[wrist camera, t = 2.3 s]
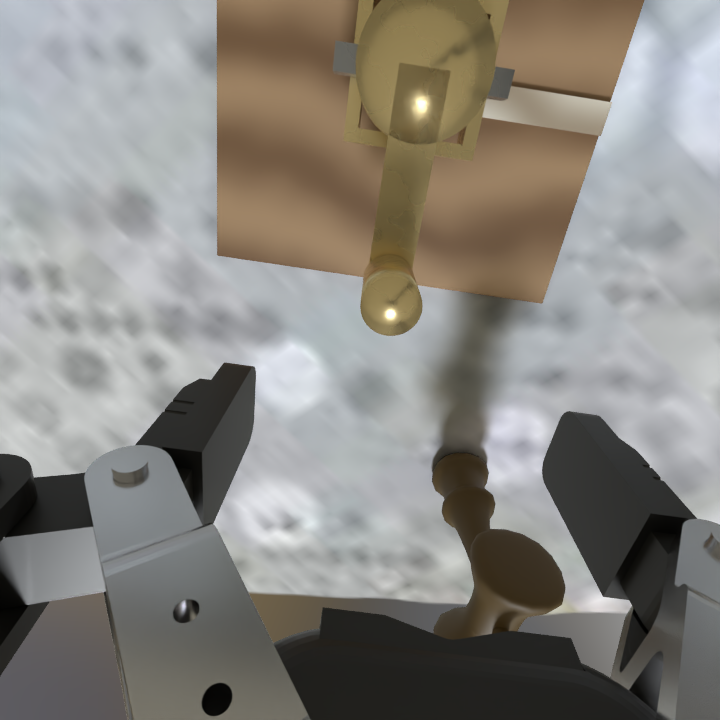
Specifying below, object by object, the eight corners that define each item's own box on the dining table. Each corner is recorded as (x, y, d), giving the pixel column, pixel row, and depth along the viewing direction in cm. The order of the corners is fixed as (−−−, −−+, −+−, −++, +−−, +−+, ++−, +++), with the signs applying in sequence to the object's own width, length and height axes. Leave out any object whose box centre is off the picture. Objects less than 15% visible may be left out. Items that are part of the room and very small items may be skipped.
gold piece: (347, -15, 22) (330, -116, 14) (514, 13, 22) (594, -70, 14) (318, 274, 28) (294, 322, 20) (448, 293, 28) (476, 348, 20)
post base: (223, -222, 22) (172, -347, 16) (682, -140, 23) (779, -233, 17) (221, 252, 32) (190, 272, 27) (537, 299, 33) (569, 327, 27)
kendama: (415, 504, 42) (443, 768, 24) (440, 422, 38) (498, 667, 20) (475, 514, 42) (548, 783, 24) (506, 434, 38) (623, 685, 20)
